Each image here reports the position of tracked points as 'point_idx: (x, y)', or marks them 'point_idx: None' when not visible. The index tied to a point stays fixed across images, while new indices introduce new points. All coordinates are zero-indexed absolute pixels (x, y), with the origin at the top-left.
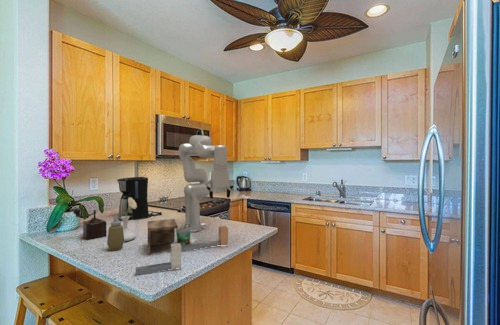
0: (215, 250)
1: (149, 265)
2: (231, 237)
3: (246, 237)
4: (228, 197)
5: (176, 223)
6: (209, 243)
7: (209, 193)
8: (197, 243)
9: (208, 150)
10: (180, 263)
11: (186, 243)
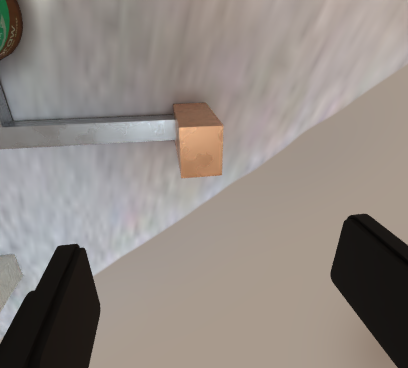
0: (146, 170)
1: None
2: (265, 19)
3: (330, 53)
4: (334, 275)
5: None
6: (123, 142)
7: (4, 347)
8: (64, 126)
9: None
10: (13, 287)
11: (3, 56)
